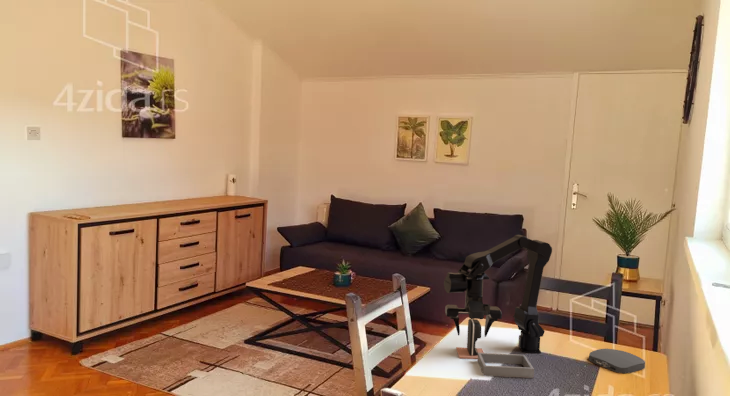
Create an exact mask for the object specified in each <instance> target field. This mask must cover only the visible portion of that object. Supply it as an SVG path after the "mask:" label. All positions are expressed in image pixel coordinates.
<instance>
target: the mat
mask: <svg viewBox="0 0 730 396" xmlns="http://www.w3.org/2000/svg"><path fill="white" fill-rule="evenodd" d="M475 348H476V347H475ZM476 349H477V351H478V353H485V352H484V350H483V348H479V347H477V348H476ZM455 350H456V352H457V355H458V358H459V359H462V360H463V359H464V360H477V359H478V355H473V356H472V355H469V352H468V350H467V347H460V346H457V347H456V348H455Z"/></svg>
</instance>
